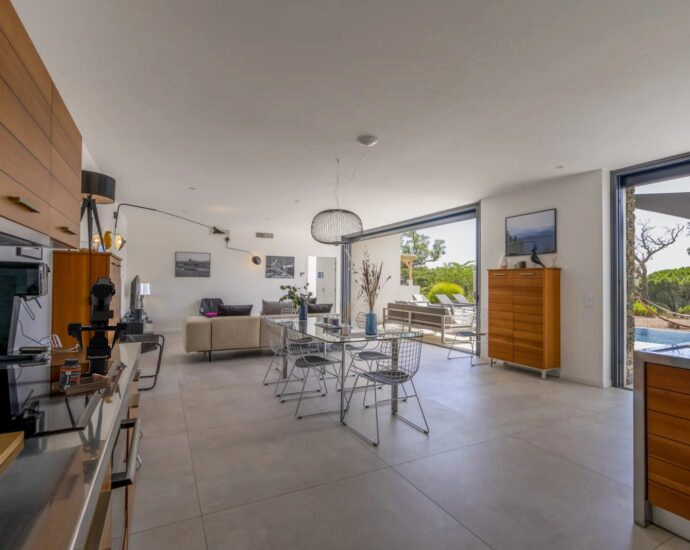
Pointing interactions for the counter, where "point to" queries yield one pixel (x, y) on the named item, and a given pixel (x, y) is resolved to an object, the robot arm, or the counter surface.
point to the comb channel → (86, 384)
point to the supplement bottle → (69, 374)
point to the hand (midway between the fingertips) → (97, 350)
